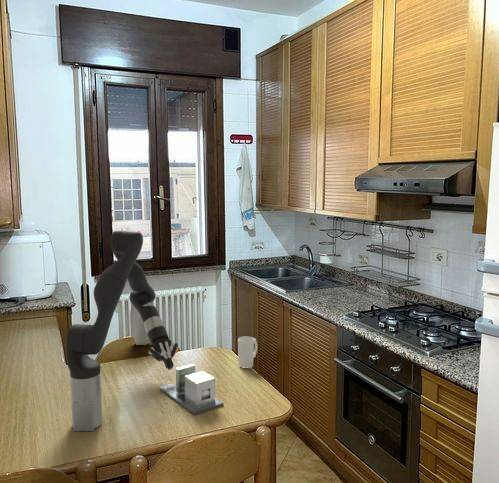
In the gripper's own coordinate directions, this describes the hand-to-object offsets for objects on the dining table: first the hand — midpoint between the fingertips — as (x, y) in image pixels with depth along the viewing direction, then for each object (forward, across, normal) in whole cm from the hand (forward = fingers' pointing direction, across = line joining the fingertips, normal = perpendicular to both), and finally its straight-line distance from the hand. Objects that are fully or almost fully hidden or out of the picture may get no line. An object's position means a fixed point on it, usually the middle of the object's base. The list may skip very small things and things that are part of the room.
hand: (170, 368), depth 186 cm
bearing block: (+15, 0, -6) cm, 16 cm away
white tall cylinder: (-29, +10, +38) cm, 49 cm away
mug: (+7, +36, +2) cm, 37 cm away
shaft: (+16, 0, -9) cm, 18 cm away
